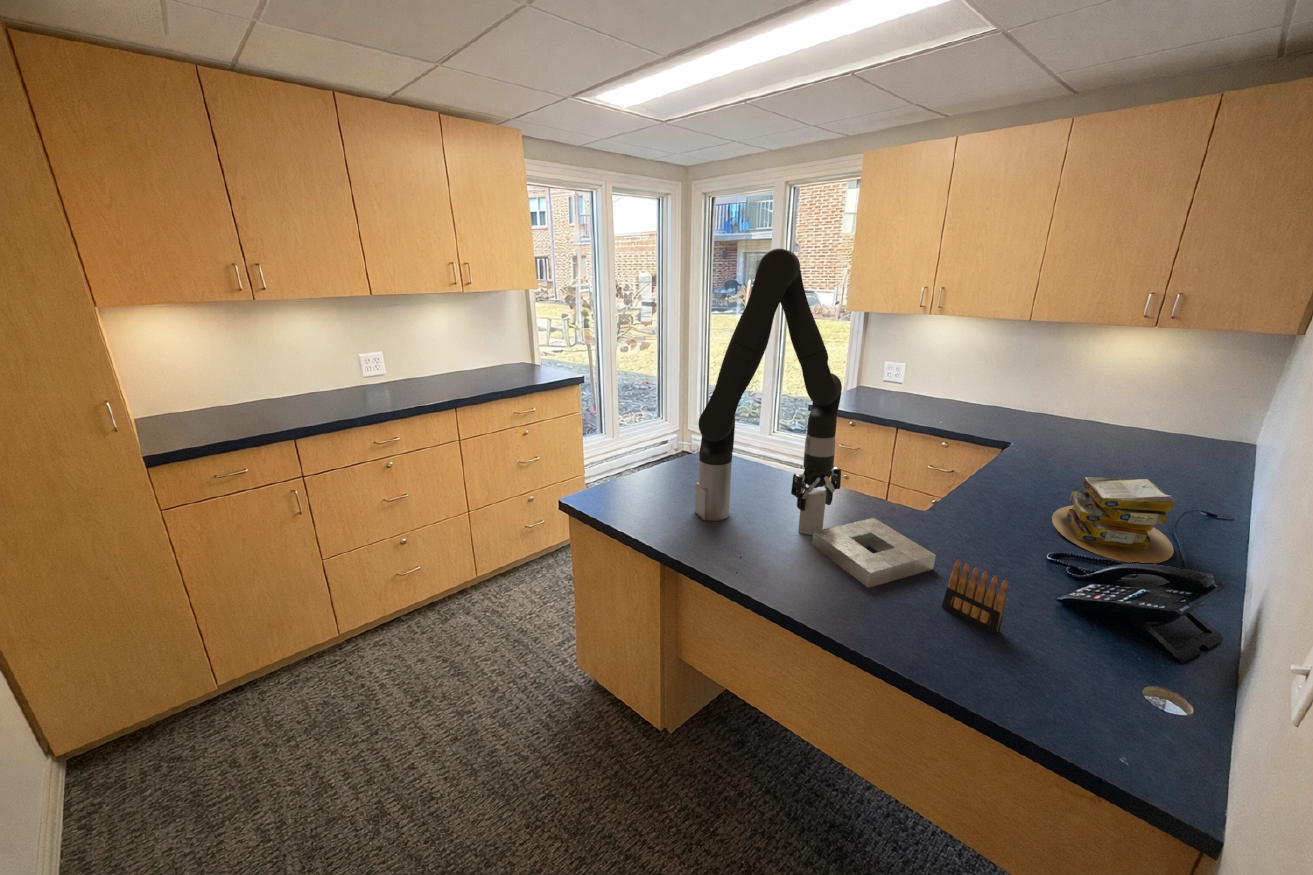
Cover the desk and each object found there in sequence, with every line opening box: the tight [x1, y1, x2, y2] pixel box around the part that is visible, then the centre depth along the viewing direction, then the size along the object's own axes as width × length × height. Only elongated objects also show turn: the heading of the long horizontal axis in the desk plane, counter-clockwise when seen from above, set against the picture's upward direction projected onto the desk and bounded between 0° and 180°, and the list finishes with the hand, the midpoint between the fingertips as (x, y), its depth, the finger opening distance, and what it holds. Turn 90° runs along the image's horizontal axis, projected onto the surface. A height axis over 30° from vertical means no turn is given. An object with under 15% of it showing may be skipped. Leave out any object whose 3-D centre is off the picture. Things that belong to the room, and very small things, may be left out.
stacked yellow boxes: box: [1051, 475, 1176, 564], centre depth 134 cm, size 25×25×17 cm
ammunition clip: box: [941, 559, 1009, 635], centre depth 104 cm, size 11×2×12 cm, turn 36°
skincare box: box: [797, 488, 826, 536], centre depth 138 cm, size 6×4×12 cm
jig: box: [811, 517, 937, 589], centre depth 128 cm, size 20×20×4 cm
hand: (814, 506), depth 138 cm, fingers open, 8 cm apart
